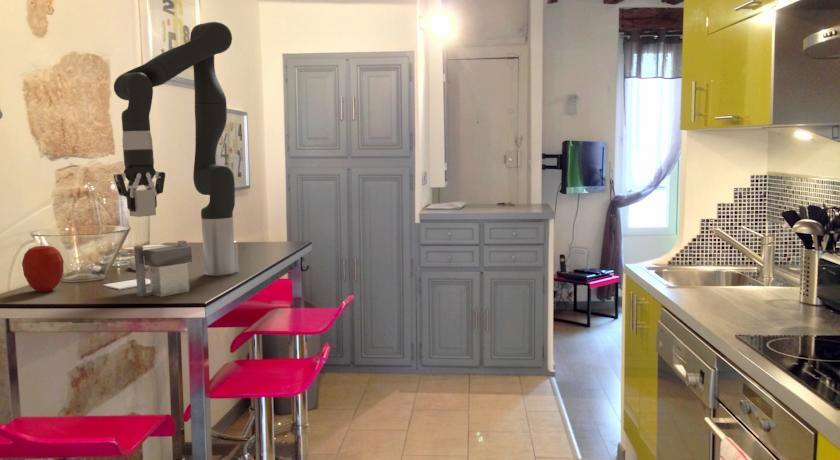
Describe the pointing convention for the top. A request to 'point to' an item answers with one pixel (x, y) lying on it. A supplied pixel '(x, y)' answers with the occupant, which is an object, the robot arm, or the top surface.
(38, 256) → the apple
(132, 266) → the decorative stone
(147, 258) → the trapdoor
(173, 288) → the frame
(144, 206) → the stone block
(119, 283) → the mat
